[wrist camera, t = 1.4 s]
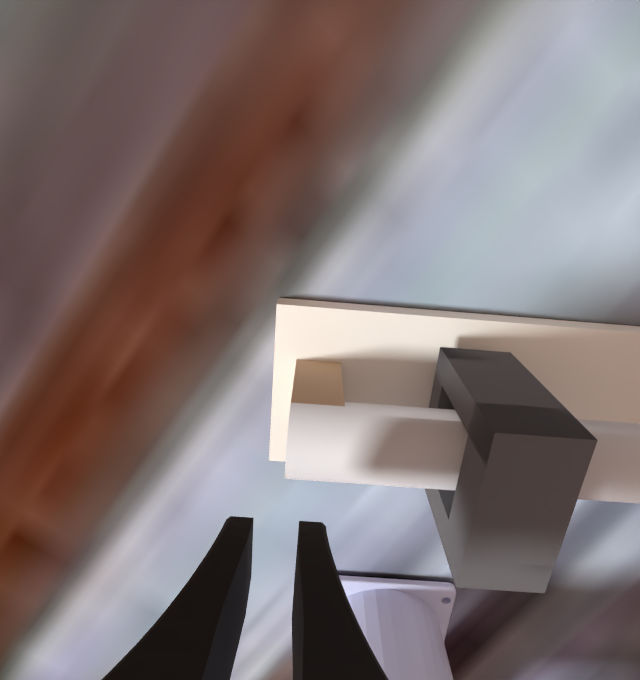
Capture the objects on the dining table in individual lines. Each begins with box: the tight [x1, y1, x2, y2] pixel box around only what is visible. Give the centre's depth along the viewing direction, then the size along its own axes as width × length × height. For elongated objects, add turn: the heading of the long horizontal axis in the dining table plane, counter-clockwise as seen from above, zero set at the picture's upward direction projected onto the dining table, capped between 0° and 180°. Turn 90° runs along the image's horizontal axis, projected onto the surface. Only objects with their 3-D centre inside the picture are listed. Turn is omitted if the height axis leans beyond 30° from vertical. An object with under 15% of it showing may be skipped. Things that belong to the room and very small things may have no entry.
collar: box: [425, 347, 598, 593], centre depth 17 cm, size 6×3×7 cm, turn 175°
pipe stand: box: [269, 298, 640, 503], centre depth 19 cm, size 8×29×6 cm, turn 85°
